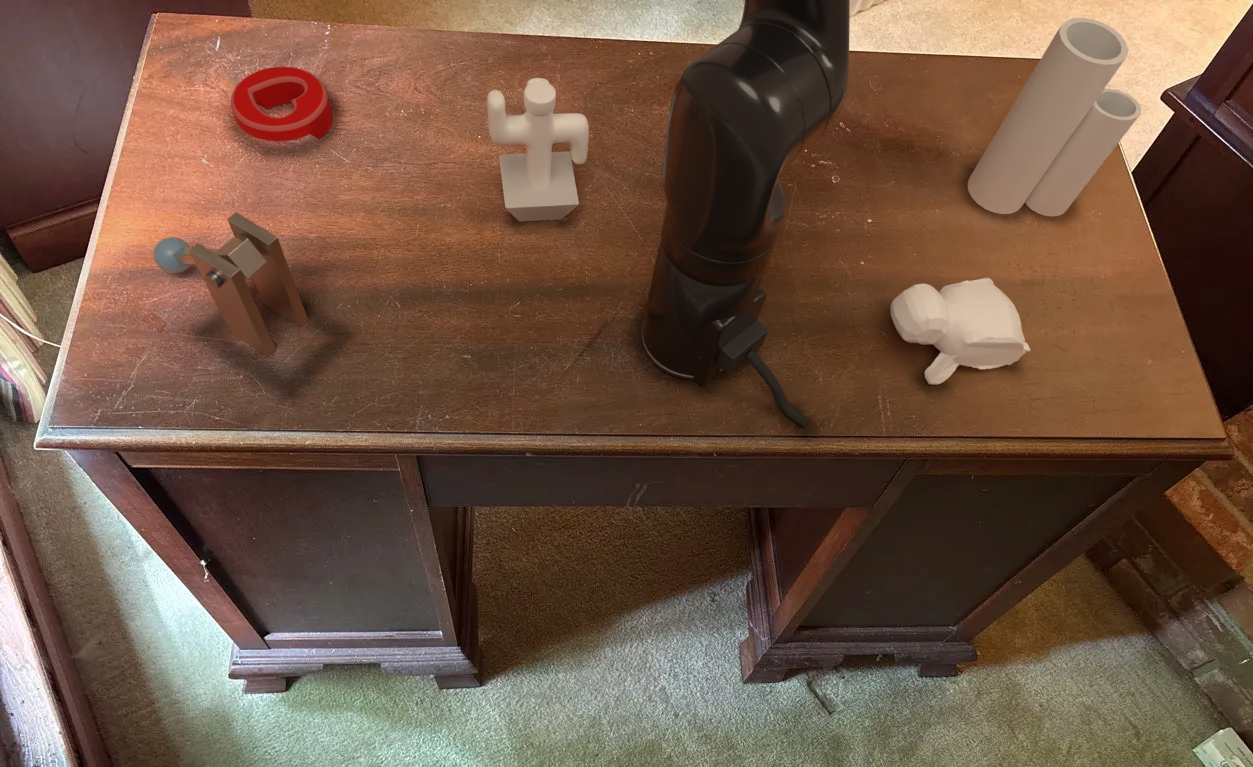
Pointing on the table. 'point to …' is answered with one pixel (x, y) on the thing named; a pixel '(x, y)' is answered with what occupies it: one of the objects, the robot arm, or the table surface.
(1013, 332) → the white low-poly sculpture
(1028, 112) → the vase
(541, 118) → the figurine
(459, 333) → the table surface
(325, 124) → the decorative ornament
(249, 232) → the brown upright slabs
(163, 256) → the ball-ended lever
